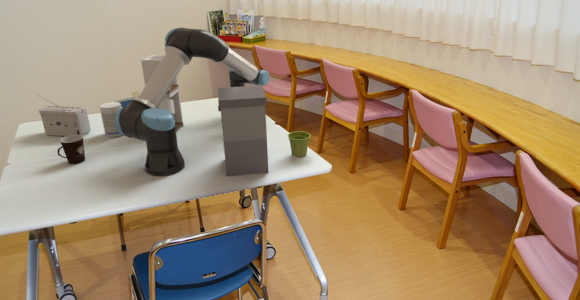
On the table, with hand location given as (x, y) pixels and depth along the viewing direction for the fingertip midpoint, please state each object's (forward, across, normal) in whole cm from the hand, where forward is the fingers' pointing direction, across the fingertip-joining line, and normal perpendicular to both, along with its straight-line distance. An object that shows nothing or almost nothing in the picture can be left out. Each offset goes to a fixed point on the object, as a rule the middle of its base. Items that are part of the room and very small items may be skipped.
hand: (240, 112), depth 204 cm
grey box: (+33, 0, -12) cm, 35 cm away
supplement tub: (-15, +60, -12) cm, 63 cm away
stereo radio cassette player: (-20, +83, -12) cm, 86 cm away
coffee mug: (+15, +71, -12) cm, 73 cm away
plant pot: (+26, -22, -12) cm, 36 cm away
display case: (-17, +35, -12) cm, 41 cm away
